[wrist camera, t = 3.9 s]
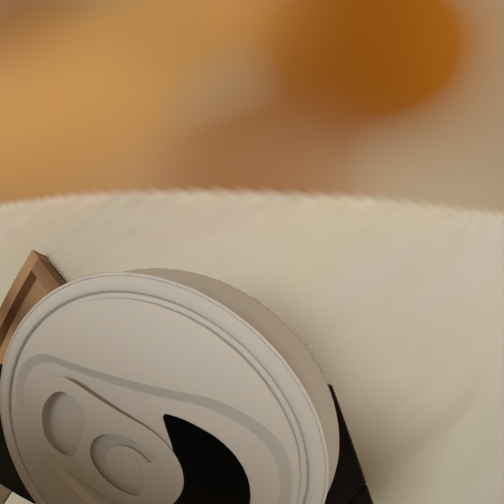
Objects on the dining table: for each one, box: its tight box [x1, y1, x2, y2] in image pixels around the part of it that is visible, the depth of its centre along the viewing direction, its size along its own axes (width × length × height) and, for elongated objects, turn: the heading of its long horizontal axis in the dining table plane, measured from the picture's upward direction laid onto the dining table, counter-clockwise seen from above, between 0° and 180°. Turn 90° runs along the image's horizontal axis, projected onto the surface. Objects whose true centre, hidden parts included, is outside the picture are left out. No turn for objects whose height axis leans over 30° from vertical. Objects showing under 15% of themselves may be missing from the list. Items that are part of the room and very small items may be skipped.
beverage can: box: [0, 268, 339, 504], centre depth 9 cm, size 6×6×12 cm
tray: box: [0, 250, 67, 364], centre depth 14 cm, size 11×11×2 cm
